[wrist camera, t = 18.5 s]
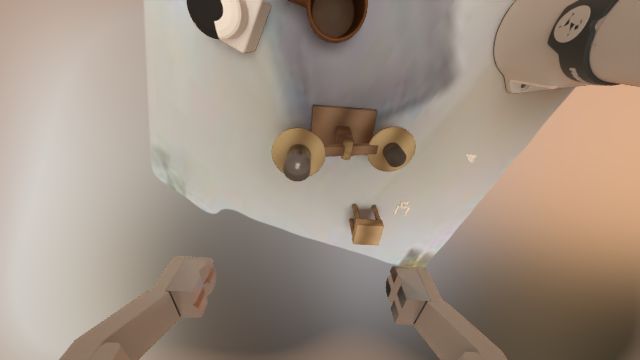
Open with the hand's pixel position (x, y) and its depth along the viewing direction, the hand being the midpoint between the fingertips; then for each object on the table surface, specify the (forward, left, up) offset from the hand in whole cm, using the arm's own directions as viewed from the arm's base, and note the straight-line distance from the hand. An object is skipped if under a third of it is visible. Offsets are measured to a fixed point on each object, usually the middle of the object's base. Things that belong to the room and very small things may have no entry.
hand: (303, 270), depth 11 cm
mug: (0, -13, -37) cm, 40 cm away
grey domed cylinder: (+2, +6, -24) cm, 25 cm away
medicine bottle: (+12, -11, -37) cm, 41 cm away
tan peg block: (-14, +27, -37) cm, 48 cm away
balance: (-6, +6, -37) cm, 38 cm away
